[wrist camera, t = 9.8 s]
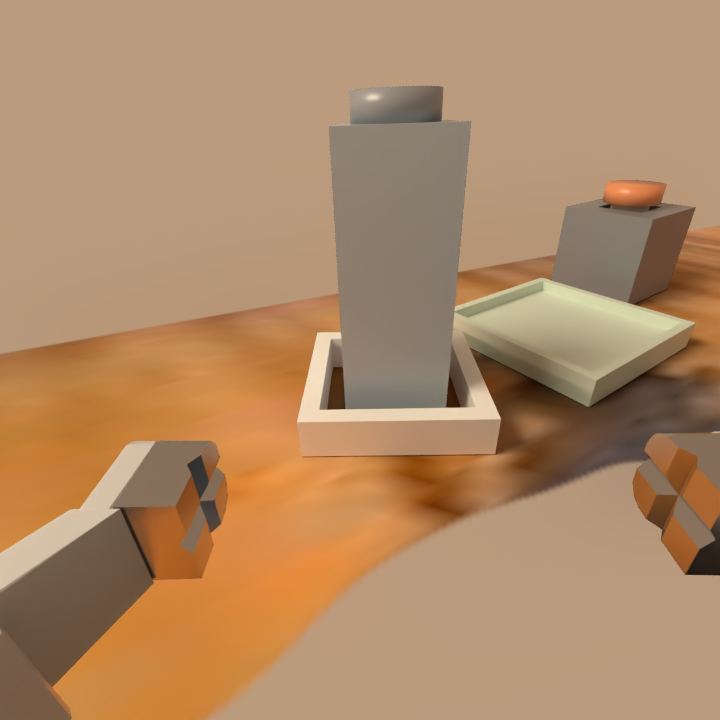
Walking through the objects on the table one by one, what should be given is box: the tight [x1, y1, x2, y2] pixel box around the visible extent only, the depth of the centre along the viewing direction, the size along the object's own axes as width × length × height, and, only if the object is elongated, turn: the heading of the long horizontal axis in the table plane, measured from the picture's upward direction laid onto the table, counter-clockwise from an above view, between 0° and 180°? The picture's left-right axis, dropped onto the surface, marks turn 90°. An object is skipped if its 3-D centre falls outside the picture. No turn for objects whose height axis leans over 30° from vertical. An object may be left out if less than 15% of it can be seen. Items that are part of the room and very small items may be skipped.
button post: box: [551, 199, 696, 304], centre depth 32 cm, size 6×6×6 cm
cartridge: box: [329, 86, 471, 409], centre depth 18 cm, size 4×4×13 cm
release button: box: [603, 180, 666, 213], centre depth 31 cm, size 4×4×6 cm
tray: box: [453, 278, 695, 407], centre depth 26 cm, size 10×10×2 cm
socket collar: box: [297, 330, 501, 457], centre depth 21 cm, size 8×8×2 cm
